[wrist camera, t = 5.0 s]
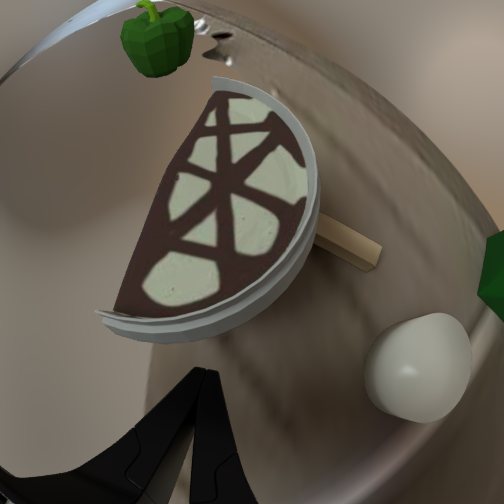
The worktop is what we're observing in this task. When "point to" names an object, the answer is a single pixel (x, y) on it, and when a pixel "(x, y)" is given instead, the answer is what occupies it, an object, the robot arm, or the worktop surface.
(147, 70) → the bell pepper
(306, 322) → the worktop surface
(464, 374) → the white domed puck
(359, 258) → the oak strip
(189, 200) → the food container
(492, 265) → the milk carton
